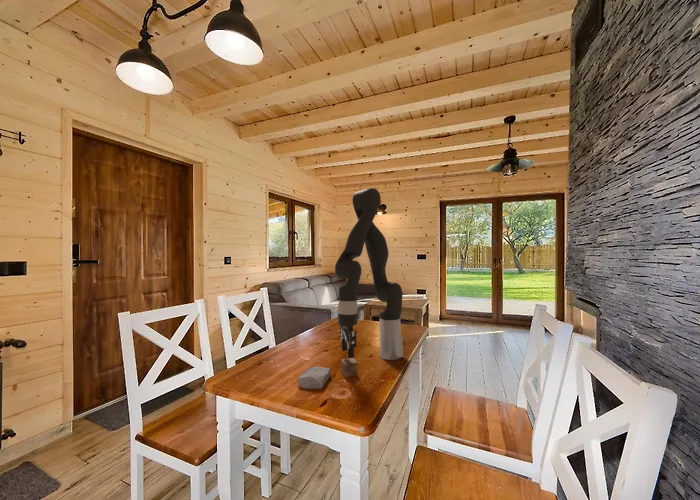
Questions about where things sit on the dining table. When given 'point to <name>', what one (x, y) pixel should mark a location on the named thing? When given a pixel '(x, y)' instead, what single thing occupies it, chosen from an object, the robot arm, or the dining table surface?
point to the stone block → (314, 378)
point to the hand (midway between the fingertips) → (347, 354)
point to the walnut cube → (349, 367)
